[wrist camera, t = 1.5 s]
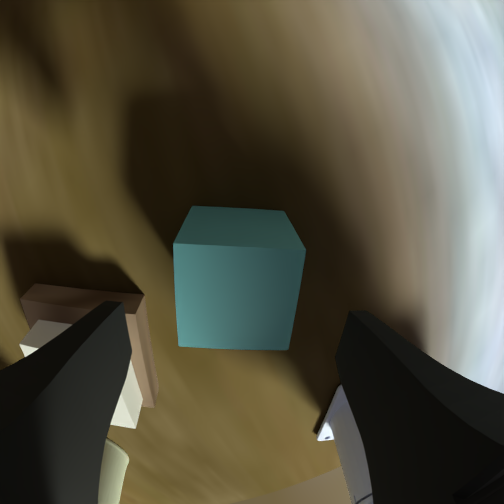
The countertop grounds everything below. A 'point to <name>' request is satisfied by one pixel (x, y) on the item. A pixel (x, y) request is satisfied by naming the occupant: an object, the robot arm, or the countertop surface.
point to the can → (112, 473)
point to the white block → (130, 394)
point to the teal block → (237, 278)
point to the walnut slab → (82, 302)
